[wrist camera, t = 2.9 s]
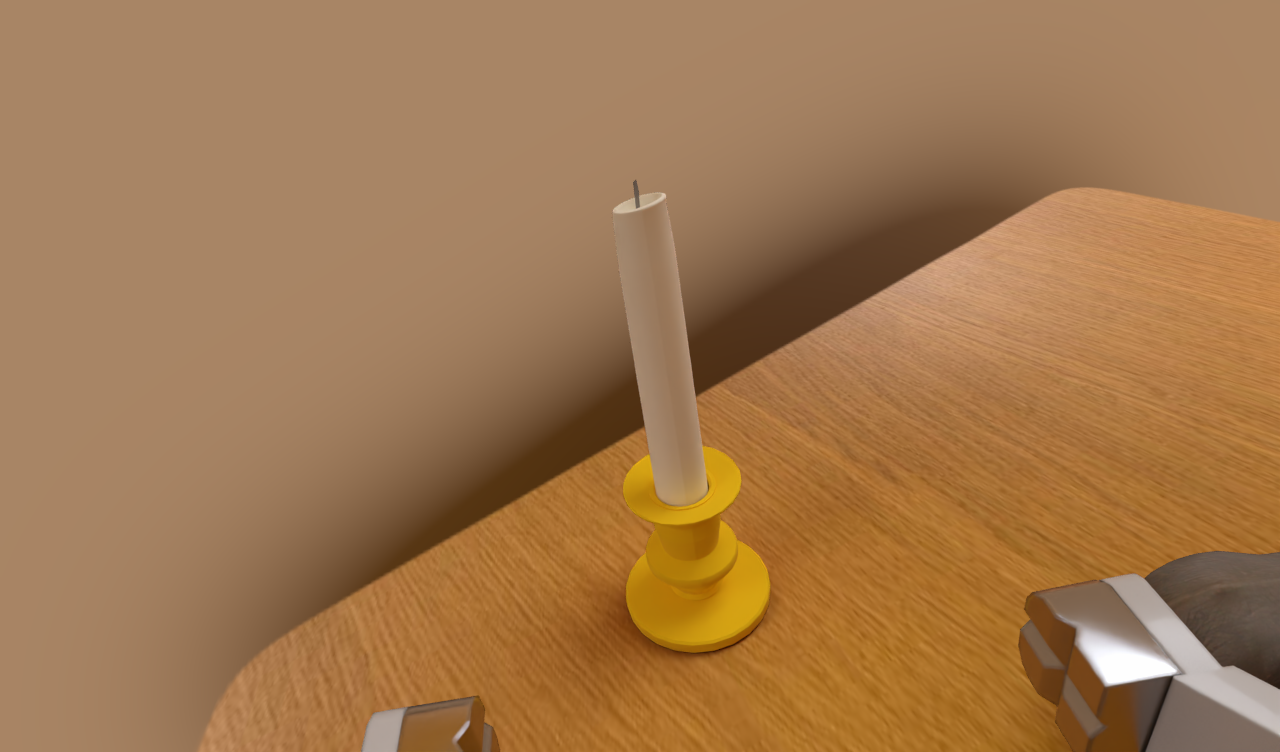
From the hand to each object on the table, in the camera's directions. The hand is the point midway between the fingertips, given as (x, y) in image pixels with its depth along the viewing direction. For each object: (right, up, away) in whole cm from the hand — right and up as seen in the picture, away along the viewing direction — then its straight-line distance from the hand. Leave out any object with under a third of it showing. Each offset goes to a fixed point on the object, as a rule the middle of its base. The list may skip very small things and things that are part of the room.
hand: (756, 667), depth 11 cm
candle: (0, -4, +17) cm, 17 cm away
